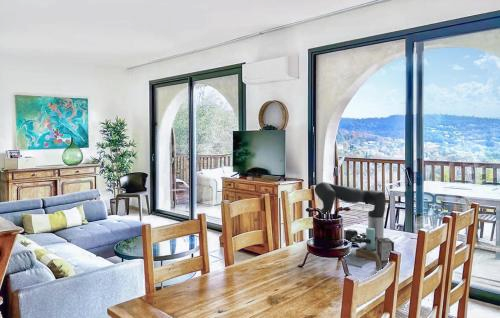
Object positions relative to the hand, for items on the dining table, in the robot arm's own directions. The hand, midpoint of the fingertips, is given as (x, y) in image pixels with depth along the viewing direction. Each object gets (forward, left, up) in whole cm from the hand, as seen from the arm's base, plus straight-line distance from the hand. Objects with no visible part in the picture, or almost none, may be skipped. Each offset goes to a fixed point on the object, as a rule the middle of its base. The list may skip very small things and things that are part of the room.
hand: (374, 240), depth 221 cm
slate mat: (+15, -2, -10) cm, 18 cm away
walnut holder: (0, -2, -10) cm, 10 cm away
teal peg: (0, -2, -9) cm, 9 cm away
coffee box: (+18, +15, -10) cm, 25 cm away
